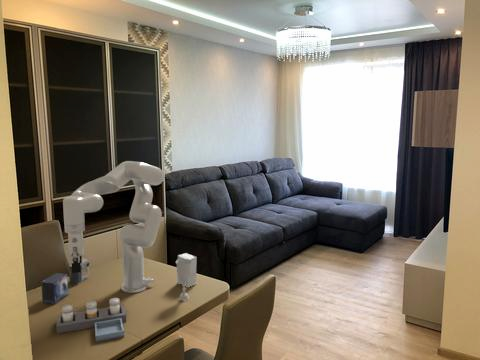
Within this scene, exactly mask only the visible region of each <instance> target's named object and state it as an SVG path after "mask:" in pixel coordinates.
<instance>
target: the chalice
mask: <svg viewBox="0 0 480 360" xmlns="http://www.w3.org/2000/svg"><path fill="white" fill-rule="evenodd" d="M191 262H192V261H191V260H189V259H179V260H178V259H176V261H175V264H176V275H177V274H178V276H179V278H180V280H181V281H183V285H181V286H182V289H181V290H182V292H181V293H180V295H179V297H178V300H179V299H180V300H187V299H189V298H190V296H189V294H188V293H187V292H186V290H187V288H186V287H185V281H187V279H188V277H189V275H190V272H191V270H190V264H191ZM180 300H179V301H180ZM189 300H190V299H189Z"/></svg>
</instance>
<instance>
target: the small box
mask: <svg viewBox="0 0 480 360" xmlns="http://www.w3.org/2000/svg"><path fill="white" fill-rule="evenodd" d="M68 279H69V277H68V274H66V273H60V272H59V273H58V272H55V273H53V274H51V275H50V276H49V277H47V278H45V279H43V280H41V292H42V293H41V298H42V304H46V305H52V306H53V305H56V304H58V303H59V302H60V301H62V300H63V299H64V298H66V297H68V296H69V284H68V283H69V280H68Z"/></svg>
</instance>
